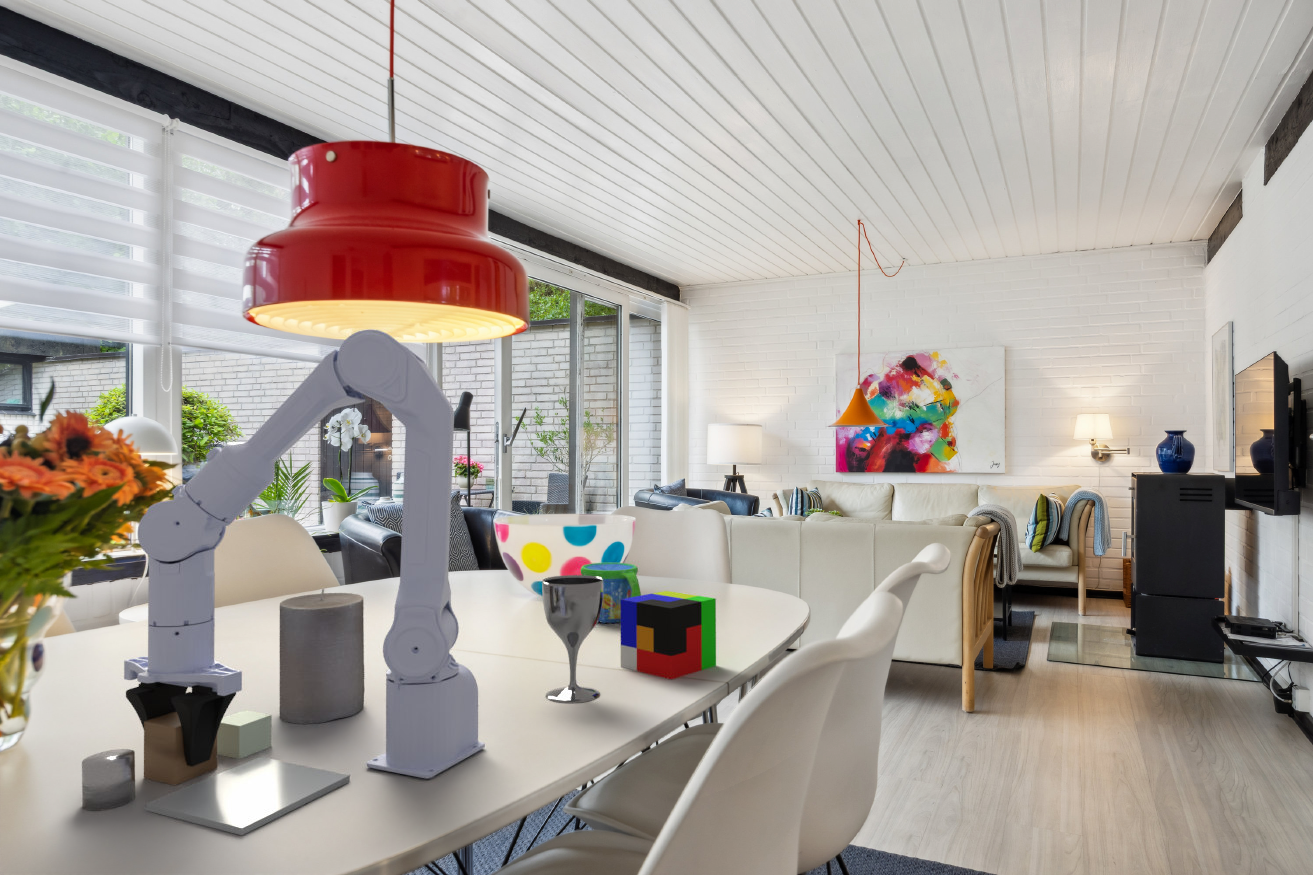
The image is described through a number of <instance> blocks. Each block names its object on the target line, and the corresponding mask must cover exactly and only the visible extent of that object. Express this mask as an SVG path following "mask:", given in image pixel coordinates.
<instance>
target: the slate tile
mask: <svg viewBox="0 0 1313 875" xmlns="http://www.w3.org/2000/svg"><path fill="white" fill-rule="evenodd" d="M350 776H351V775H350V774H345V773H341V772H335V771H332V770H331V771H330V770H325V769H323V768H322V769H321V768H316V767H311V766H306V765H301V764H296V763H291V762H287V761H281V760H277V759H271V758H267V757H262V756H258V757H257V758H254V759H252V760H249V761H247V762H245V763H242V764H239V765H237V766H234V767H233V768H232V767H231V768H230V769H227V770H224V771H222V772H220V773H218V774H217V773H216V774H215V775H213V776H210V777H208V778H207V777H206V778H205V779H203V780H200V781H198V782H195V783H193V784H191V785H187V786H185V787H183V788H180V789H178V790H176V791H173V792H170V793H168V794H166V795H163V796H160V797H159V798H156V799H154V800H151V801H149V802H146V803H145V811H147V812H151V813H154V814H159V815H163V816H165V817H169V818H174V819H176V820H180V821H185V822H189V823H193V824H197V825H199V826H200V825H202V826H204V827H208V828H212V829H216V830H220V831H224V832H227V833H231V834H234V835H239V836H244V835H246V834H248V833H250V832H252V831H254V830H255V829H258V828H260V827H261V826H264V825H266V824H268V823H270V822H272V821H273V820H276V819H278V818H280V817H283V816H284V815H286V814H288V813H290V812H291V811H294V810H295V809H298V808H301V807H302V806H304V805H306V804H308V803H309V802H312V801H314V800H315V799H317V798H320V797H322V796H324V795H325V794H327V793H330V792H331V791H334V790H335V789H339V787H342V786H345V785H346V784H347V783H350V781H351V777H350Z"/></svg>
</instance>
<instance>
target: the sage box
mask: <svg viewBox="0 0 1313 875" xmlns="http://www.w3.org/2000/svg"><path fill="white" fill-rule="evenodd" d="M272 717H273V716H272V714H268V713H263V712H258V711H253V710H247V709H245V710H242V711H238V712H236V713H233V714H230V715H227V716H223V719H222V721H221V723H220V726H219V729H218V732H217V756H218V755H219V756H223V757H229V758H233V759H238V760H240V759H243V758H245V757H248V756H250V755H253V754H256V753H258V752H260V751H263V750H265V749H267V748H270V747H272V730H273V728H272V721H273V719H272Z"/></svg>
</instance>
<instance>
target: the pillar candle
mask: <svg viewBox="0 0 1313 875" xmlns="http://www.w3.org/2000/svg"><path fill="white" fill-rule="evenodd" d="M364 609H365V608H364V597H363V596H362V595H360V594H357V593H352V592H351V593H348V592H328V593H327V592H326V593H325V589H324V588H322V591H321V593H315V594H312V593H311V594H306V595H305V594H304V595H301V596H300V595H299V596H294V597H289V598H286V599H284V600H282V601H281V602H280V603H279V718H280V719H281V720H282V721H284V722H287V723H291V724H299V725H300V724H304V725H306V724H307V725H311V724H324V723H326V722H327V723H328V722H332V721H335V720H338V719H343V718H347V717H351V716H354V715H357V714H358V713H359V712H360V711H362V710H363V708H364V704H365V650H364V649H365V644H364V642H365V641H364V640H365V639H364V638H365V634H364V632H365V630H364V626H365V625H364V624H365V623H364V619H365V618H364Z"/></svg>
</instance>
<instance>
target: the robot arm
mask: <svg viewBox="0 0 1313 875" xmlns="http://www.w3.org/2000/svg"><path fill="white" fill-rule="evenodd" d="M364 396H366V397H369V398H371V399H373V400H374V401H376V402H378V403H380V404H381V405H383V407H384V408H385V409H386V410H387V411H388V412H389V413H391V415H392V416H394V417H395V418H396V419H397V420H398V421H399V422H400V423H401V424H402V425H403V426H404V428H405V438H404V463H403V464H404V467H403V468H404V470H403V491H402V492H403V493H402V517H401V518H402V519H401V520H402V522H401V547H400V548H401V549H400V569H399V570H400V572H399V574H400V576H399V584H398V590H397V595H396V598H395V604H394V614H393V621H392V625H391V626H390V628H389V630H388V632H387V634H386V635H385V637H384V641H383V646H382V653H383V654H382V655H383V658H384V662H385V665H386V667H388V668H387V670H386V672H385V676H386V678H385V679H386V683H385V687H386V688H385V693H386V695H385V752H384V753H382V754H380V755H378V756H376V757H373V758H372V759H370V760H368V761H366V767H367V768H370V769H375V770H380V771H386V772H391V773H394V774H395V773H396V774H400V775H406V776H410V777H411V776H412V777H416V778H421V779H431V778H434V777H435V776H436V775H437V776H438V774H440V773H441V772H444V771H446V770H448V769H449V768H451V767H453V766H454V765H456V764H459V762H461V761H463V760H465V759H466V758H469V757H471V756H472V755H473V754H476V753H477V752H479V751H481V750H482V749H485V747H486V745H485V742H483V741H479V687H478V684H477V680H476V677H475V676H474V674H473V672H472V671H471V670H470V669H469V668H468V667H466V666H465V665H463V664H461V663H459V662H456V659H455V658H454V656H453V655H452V654H451V653H450V651H451V650H452V648H453V647H454V645H455V644H456V642H457V640H458V637H459V630H460V629H459V628H460V626H459V622H458V619H457V617H456V614H455V613H454V610H453V607H452V602H451V601H452V597H451V596H452V589H451V586H450V579H449V573H450V572H449V567H450V566H449V564H450V540H451V536H450V535H451V517H452V516H451V515H452V514H451V512H452V511H451V510H452V490H453V489H452V488H453V486H452V482H453V461H454V460H453V459H454V458H453V456H454V454H453V453H454V430H455V425H454V424H455V414H454V408H453V406H452V404H451V402H450V400H448V398H447V396H446V395H445V393H444V391H443V390H442V388H441V387H440V386H439V383H438V382H437V380H436V379H435V376H433V374H432V373H431V370H430V369H429V368H428V366H427V364H426V362H425V361H424V360H423V359H422V358H421V357H419V356H418V355H416V354H415V352H413V351H412V350H410V349H409V348H408V347H407V346H405V345H404V344H402V343H401V342H399V341H398V340H397V339H395V338H394V337H393V336H392V335H390V334H388V333H386V332H384V331H382V330H380V329H372V328H371V329H361V330H359V331H355V332H354V333H351V335H349V336H348V337H346V339H345V340H344V341H343V342H342V344H340V347H339V350H338V349H333V350H332V351H330V352H329V353H328V354H326V355H325V356H324V357H323V359H322V360H321V361H320V362H319V363H318V364H317V366H316V367H315V368H314V369H313V370H312V371H311V373H309V375H308V376H307V377H306V378H305V379H304V380H303V381H302V382H301V384H300V385H299V386H298V387H296V389H295V390H294V391H293V392H292V393H291V394H290V395H289V397H287V398H286V399H285V401H283V403H282V404H281V405H280V406H279V407H278V408H277V409H276V410H275V411H274V413H273V414H272V415H271V416H269V418H268V419H267V420H266V421H265V422H264V423H263V424H262V425H261V426H260V428H258V430H257V431H256V432H254V434H253V435H252V436H251V437H250V438H249V439H248V441H232V442H228V443H226V444H225V445H224V446H223V447H221V446H220V447H218V446H216V447H215V446H214V447H213V448H211V449H210V450H209V452H207V454H206V455H205V457H206V458H207V459H208V460H209V461H207V463H206V464H204V466H202V468H200V470H199V471H197V472H196V473H195V475H193V476H192V477H191V479H189V480H188V481H187V482H186V483H185V484H177V485H176V486H175V488H173V489H172V490H171V494H172V495H173V499H170V500H162V501H160V502H159V501H158V502H156V503H154V504H152V505H150V506H149V507H148V508H147V511H146V512H145V513H144V515H143V516H142V517H141V519H140V521H139V523H138V527H137V539H138V543H139V545H140V547H141V549H142V550H143V551H144V552H145V553H146V555H148V578H147V580H148V583H147V584H148V586H147V587H148V591H147V592H148V595H147V603H148V604H147V608H148V609H147V615H148V616H147V630H148V631H147V656H143V655H142V656H139V657H134V658H130V659H125V660H124V661H123V662H124V664H123V670H124V671H123V679H124V680H127V681H134V680H137V682H138V686H136V687H131V688H129V689H126V690H125V698H126V700H127V701H128V702H129V703H130V704H131V706H132V707H133V709H134V711H135V713H136V715H137V717H138V719H139V721H140V723H141V726H142V728H143V730H144V721H147V720H150V719H153V718H157V717H160V716H163V715H166V714H169V713H173V712H176V711H177V714H178V717H179V720H180V723H181V728H182V733H183V745H184V755H185V760H186V763H187V766H195V765H197V764H200V763H203V762H205V761H208V760H210V757H211V754H212V750H213V746H214V743H215V739H216V735H217V732H218V729H219V726H220V723H221V721H222V719H223V717H225V714H226V712H227V710H228V708H229V706H230V705H231V703H232V701H233V700H234V699H235V697H236V695H237V693H238V692H241V691H242V690H243V687H242V686H243V676H242V675H243V671H242V670H239V669H234V668H233V667H230V666H228V665H225V664H223V663H222V662H219V661H217V660H216V659H215V626H216V625H215V619H216V618H215V592H216V591H215V590H216V589H215V584H216V582H215V580H216V579H215V576H216V574H215V550H216V549H217V547H218V546H220V544H221V542H223V540H224V538H225V534H226V529H227V527H228V526H231V525H232V523H233V522H234V521H235V520H236V519H237V518H238V517H240V515H241V514H242V513H243V512H245V510H246V509H248V507H249V506H250V505H251V504H252V503H253V502H254V501H255V500H257V498H258V497H259V496H261V494H262V493H263V492H265V490H266V489H268V487H269V486H271V485H272V483H274V481H275V474H276V473H275V468H276V467H275V465H276V462H277V461H278V460H279V459H280V458H281V457H282V456H283V455H285V453H286V452H288V451H289V450H290V449H291V448H292V447H293V446H294V445H295V444H296V443H298V442H299V441H300V440H301V439H302V438H303V437H305V435H306V434H307V433H308V432H309V431H311V430H312V429H313V428H315V426H316V425H317V424H318V423H319V422H321V421H322V420H323V419H324V418H325V417H326V416H327V415H328V414H329V413H331V412H332V411H334V410H335V409H339V408H344V407H348V406H352V405H358V404H362V403H365V402H366V399H365V397H364ZM189 688H191V691H188V689H189Z"/></svg>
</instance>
